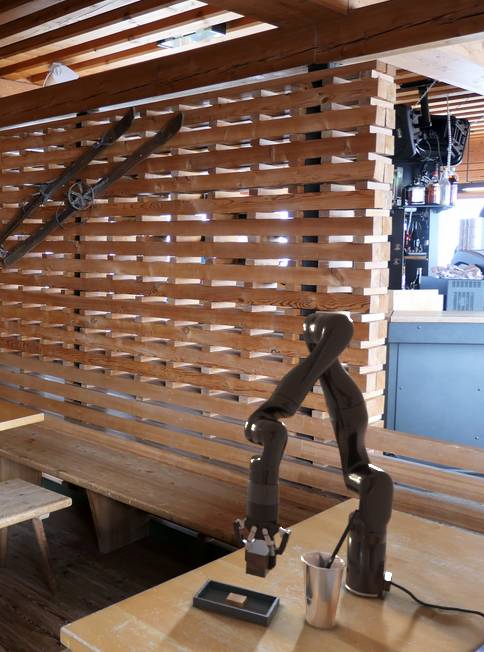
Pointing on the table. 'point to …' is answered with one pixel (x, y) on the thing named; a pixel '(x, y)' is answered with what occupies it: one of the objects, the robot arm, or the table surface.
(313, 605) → the metal cup with straw
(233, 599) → the copper square block
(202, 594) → the tray
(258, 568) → the brown long rectangular block
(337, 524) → the table surface
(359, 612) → the table surface
